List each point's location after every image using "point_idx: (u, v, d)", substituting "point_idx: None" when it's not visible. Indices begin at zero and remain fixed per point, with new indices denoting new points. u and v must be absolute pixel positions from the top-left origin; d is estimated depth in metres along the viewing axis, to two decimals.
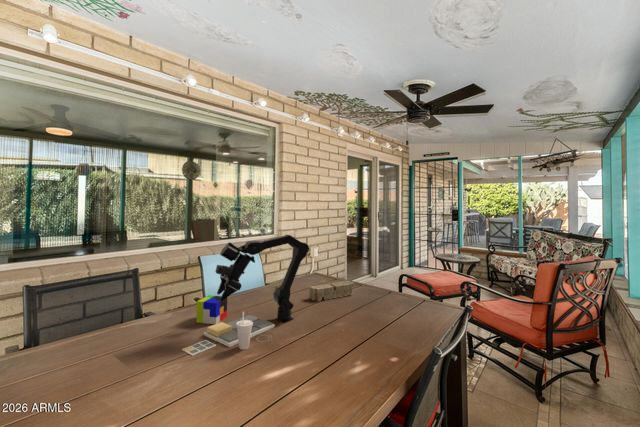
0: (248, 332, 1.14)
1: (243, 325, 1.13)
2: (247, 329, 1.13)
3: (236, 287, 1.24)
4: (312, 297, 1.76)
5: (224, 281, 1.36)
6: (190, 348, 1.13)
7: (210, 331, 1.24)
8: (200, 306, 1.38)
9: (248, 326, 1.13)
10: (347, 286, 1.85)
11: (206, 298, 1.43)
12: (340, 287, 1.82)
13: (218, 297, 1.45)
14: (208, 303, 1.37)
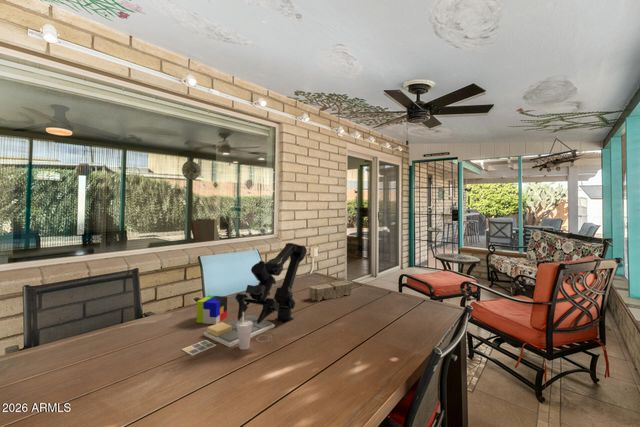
0: (248, 332, 1.14)
1: (243, 325, 1.13)
2: (247, 329, 1.13)
3: (276, 308, 1.20)
4: (312, 297, 1.76)
5: (243, 304, 1.23)
6: (190, 348, 1.13)
7: (210, 331, 1.24)
8: (200, 306, 1.38)
9: (248, 326, 1.13)
10: (346, 286, 1.86)
11: (206, 298, 1.43)
12: (340, 287, 1.83)
13: (218, 297, 1.45)
14: (208, 303, 1.37)
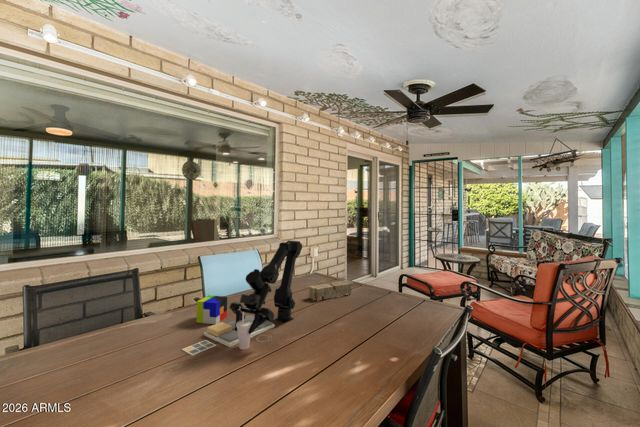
0: None
1: (243, 325, 1.13)
2: (247, 329, 1.13)
3: (272, 318, 1.16)
4: (312, 297, 1.76)
5: (241, 315, 1.19)
6: (190, 348, 1.13)
7: (210, 331, 1.24)
8: (200, 306, 1.38)
9: (248, 326, 1.13)
10: (346, 286, 1.86)
11: (206, 298, 1.43)
12: (339, 287, 1.83)
13: (218, 297, 1.45)
14: (208, 303, 1.37)
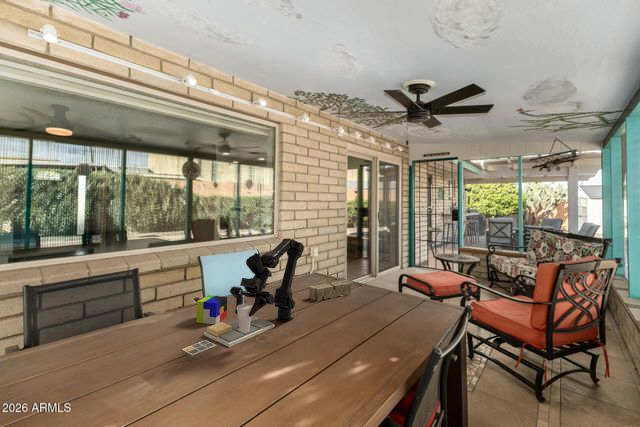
0: (248, 315, 1.14)
1: (243, 308, 1.13)
2: (247, 312, 1.13)
3: (272, 301, 1.16)
4: (312, 297, 1.76)
5: (241, 298, 1.19)
6: (190, 348, 1.13)
7: (210, 331, 1.24)
8: (200, 306, 1.38)
9: (248, 309, 1.13)
10: (346, 285, 1.87)
11: (206, 298, 1.43)
12: (339, 286, 1.84)
13: (218, 297, 1.45)
14: (208, 303, 1.37)
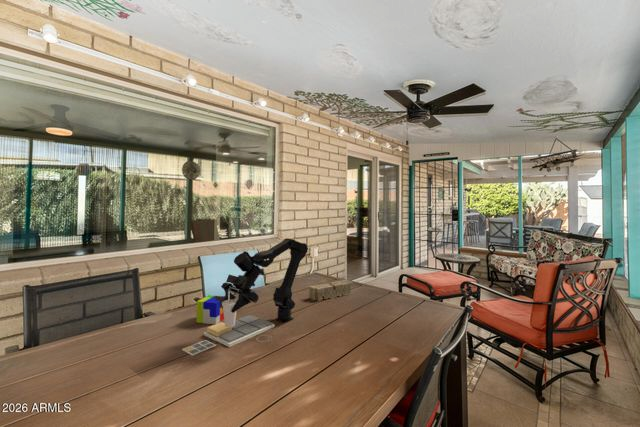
0: None
1: (227, 303, 1.17)
2: (230, 308, 1.17)
3: (255, 299, 1.18)
4: (312, 297, 1.76)
5: (230, 294, 1.24)
6: (190, 348, 1.13)
7: (210, 331, 1.24)
8: (200, 306, 1.38)
9: (231, 305, 1.17)
10: (346, 285, 1.87)
11: (206, 298, 1.43)
12: (339, 286, 1.84)
13: (218, 297, 1.45)
14: (208, 303, 1.37)
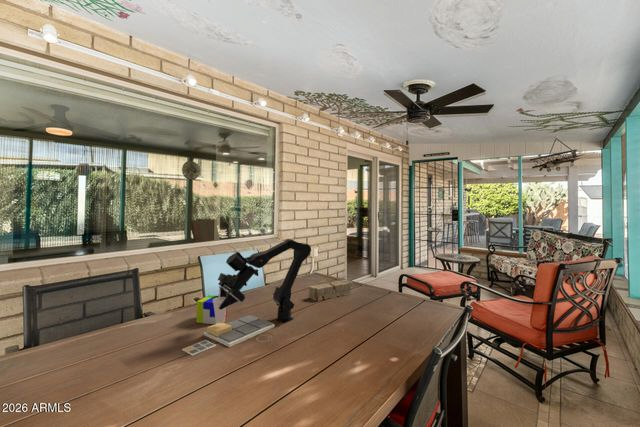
0: None
1: (216, 300, 1.24)
2: (219, 305, 1.23)
3: (240, 298, 1.21)
4: (312, 297, 1.76)
5: (223, 292, 1.30)
6: (190, 348, 1.13)
7: (210, 331, 1.24)
8: (200, 306, 1.38)
9: (219, 302, 1.23)
10: (346, 285, 1.87)
11: (206, 298, 1.43)
12: (339, 286, 1.84)
13: None
14: (208, 303, 1.37)
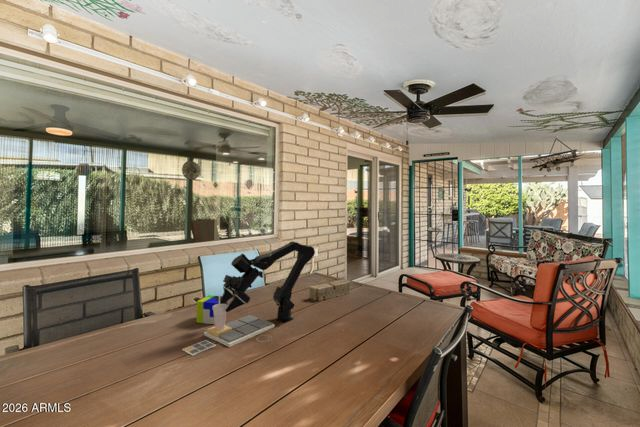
0: (220, 315, 1.24)
1: (216, 307, 1.24)
2: (218, 312, 1.23)
3: (245, 300, 1.23)
4: (313, 297, 1.76)
5: (227, 292, 1.33)
6: (190, 348, 1.13)
7: (210, 333, 1.24)
8: (200, 306, 1.38)
9: (219, 309, 1.23)
10: (345, 285, 1.88)
11: (206, 298, 1.43)
12: (339, 286, 1.85)
13: (218, 297, 1.45)
14: (208, 303, 1.37)
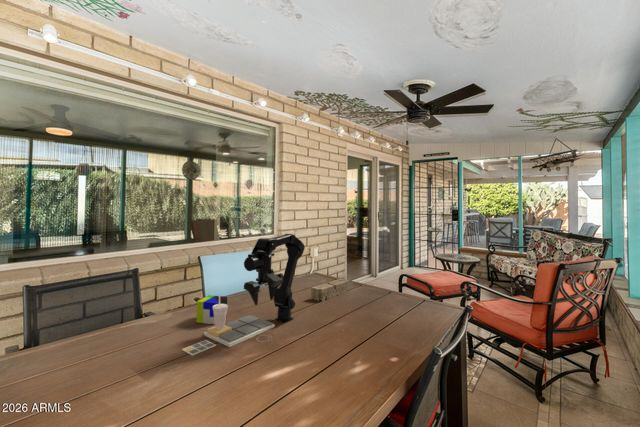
0: (220, 315, 1.24)
1: (216, 307, 1.24)
2: (218, 312, 1.23)
3: None
4: (315, 298, 1.75)
5: None
6: (190, 348, 1.13)
7: (210, 333, 1.24)
8: (200, 306, 1.38)
9: (219, 309, 1.23)
10: (344, 284, 1.90)
11: (206, 298, 1.43)
12: (338, 285, 1.86)
13: (218, 297, 1.45)
14: (208, 303, 1.37)
